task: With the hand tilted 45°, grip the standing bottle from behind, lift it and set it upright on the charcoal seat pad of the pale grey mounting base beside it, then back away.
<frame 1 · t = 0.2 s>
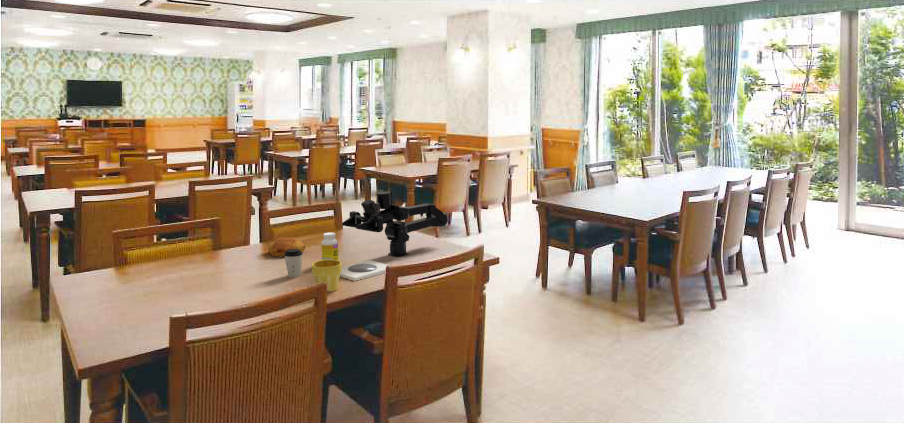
hand: (349, 225, 249), 17 cm above the table, tool horizontal, fingers open, 9 cm apart
supplement bottle: (330, 264, 255), on the table
coffee cup: (294, 276, 240), on the table
mount base: (362, 271, 245), on the table
plant pot: (328, 290, 222), on the table
croissant: (285, 254, 274), on the table
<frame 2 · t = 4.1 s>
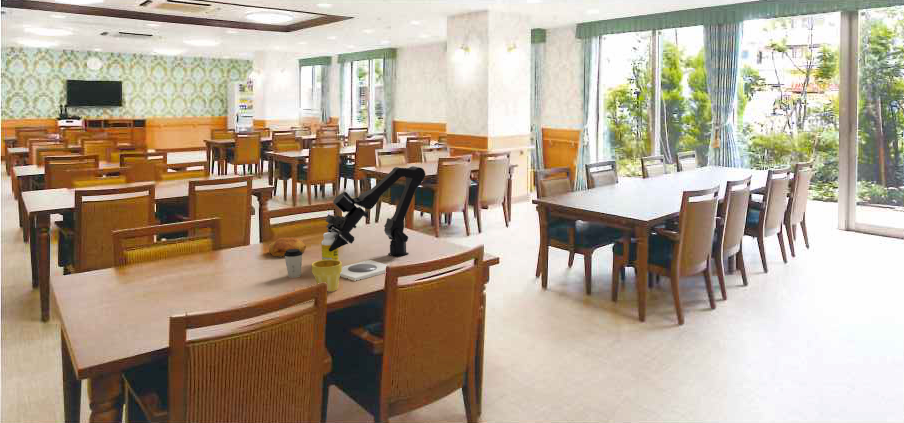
hand: (326, 249, 253), 7 cm above the table, tool tilted 45°, fingers closed on supplement bottle, 7 cm apart
supplement bottle: (330, 264, 255), on the table, touching gripper
everything else where it was.
when the fingers open (9 cm above the table, at t = 8.5 s): supplement bottle stays where it is, resting on mount base.
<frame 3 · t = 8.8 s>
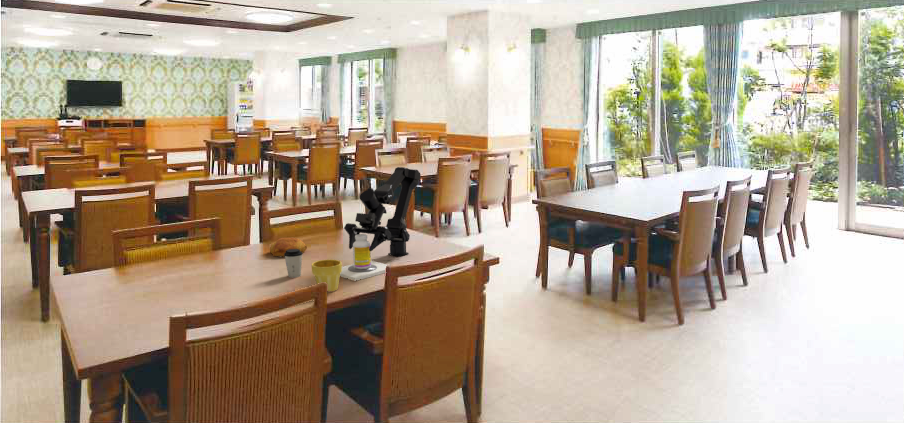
hand: (359, 249, 242), 9 cm above the table, tool tilted 45°, fingers open, 9 cm apart
supplement bottle: (362, 268, 245), point 1 cm above the table, touching mount base
everything else where it was.
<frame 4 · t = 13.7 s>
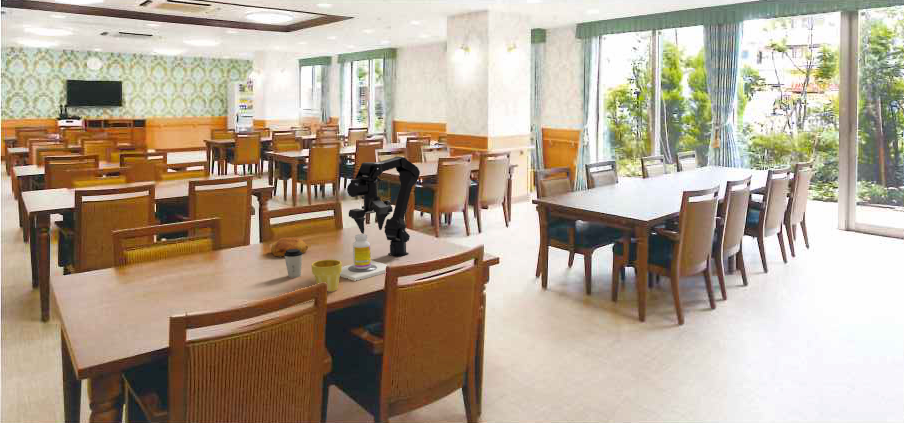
hand: (371, 231, 255), 13 cm above the table, tool pointing down, fingers open, 9 cm apart
at the end: supplement bottle inside the target area on the mount base (0.2 cm from its centre), point 1.3 cm above the mount base's base; supplement bottle tilted 0°; the gripper is holding nothing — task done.
